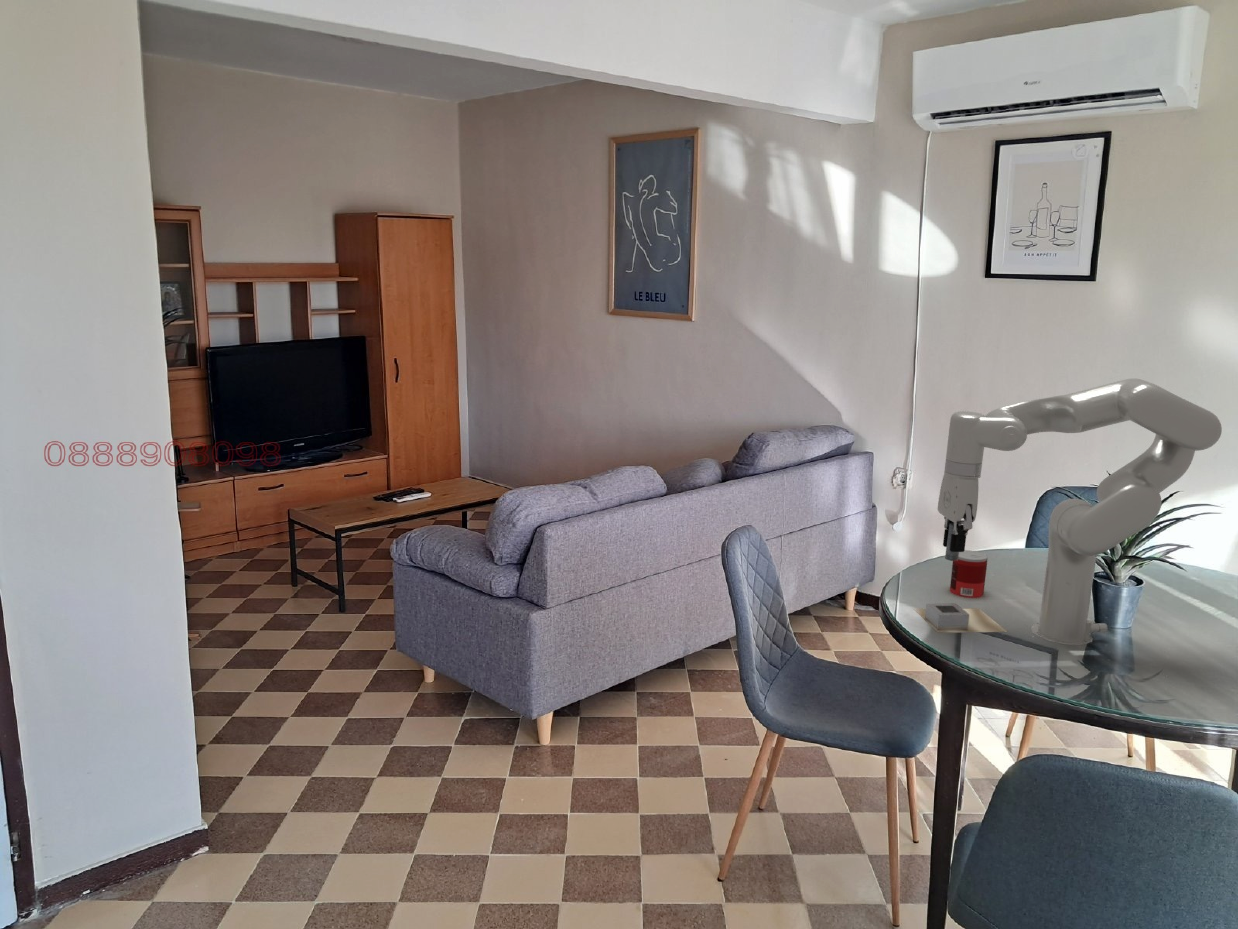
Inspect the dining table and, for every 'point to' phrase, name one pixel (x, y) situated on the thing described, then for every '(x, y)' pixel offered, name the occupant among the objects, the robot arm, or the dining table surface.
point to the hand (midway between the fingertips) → (953, 548)
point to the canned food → (969, 574)
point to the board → (971, 622)
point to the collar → (947, 616)
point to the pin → (949, 555)
